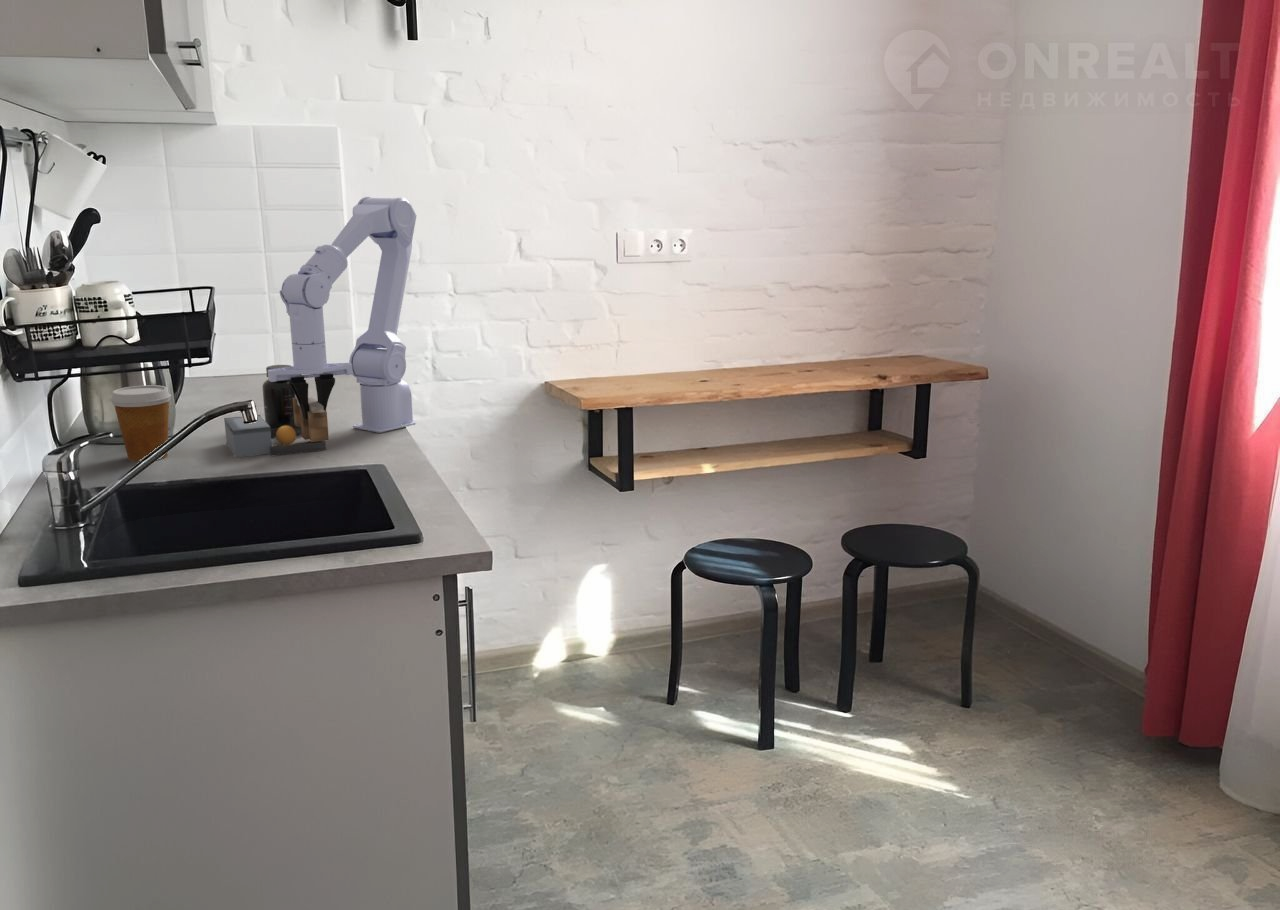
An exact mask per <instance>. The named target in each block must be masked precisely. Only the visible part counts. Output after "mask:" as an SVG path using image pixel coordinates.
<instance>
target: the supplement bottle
mask: <svg viewBox="0 0 1280 910" xmlns="http://www.w3.org/2000/svg"><path fill="white" fill-rule="evenodd" d="M291 366H292V365H290V364H274V365H268V366H267V367H265V369H266V378H268V370H270V369H278V368H285V367H291ZM261 390H262V399H263V401H262V402H263V411H264V413H263V414H264V420H265V422H266V423H267V424H268V425H269V426H270V429H275V428H280V427H282V426H290V427H295V426H296V425H295V423H294V410H293V398H295V393H294V391H293V390H292V388H291V386H290V385H289V383H288V380H279V381H276V382H271V381H269V380H268V379H267V380H265V381H264V382H263V383H262V389H261Z"/></svg>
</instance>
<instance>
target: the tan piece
mask: <svg viewBox="0 0 1280 910" xmlns="http://www.w3.org/2000/svg"><path fill="white" fill-rule="evenodd" d="M308 404H309V411H308V419H305V418H303V414H302V410H301V407H300V404H299V402H298V399H297V397H296V395H295V398H293V410H294V423H295V425H296V427H297V426H301V434H302V435H301V438H303V440H304V441H309V442H316V441H326V442H327V441H329V440H330V438H329V425H328V424H329V423H328V411H327V410H326V411H325V410H324V406H322V405H321V404H320V403H319V402H318V400H317V399H315V398H314V397H313V396H312V395H311V394H309V393H308Z"/></svg>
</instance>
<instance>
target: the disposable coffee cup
mask: <svg viewBox="0 0 1280 910" xmlns="http://www.w3.org/2000/svg"><path fill="white" fill-rule="evenodd" d="M111 396H112V397H110V402H111V403H112V405H113V406H114V408H115V409H114V410H115V413H116V417H117V421H118V425H119V430H120V433H121V435H122V440H123V444H124V447H125V451H126V455H127V460H129V461H131V462H135V463H136V462H137V461H139V460H140V459H142V458H143V457H144V456H146V455H148V454H149V453H150V452H152V451H153V450H154V449H155V448H157V447H158V446H160V445H161V444H163V443H164V442H165V441H166V440H168V441H169V413H170V412H169V411H170V410H169V408H170V405H169V404H170V400H171V397H172V394H171V393H170V392H169V388H168V387H167V386H164V385H156V384H155V385H151V384H150V385H149V384H148V385H144V384H143V385H132V386H126V387H121V388H118V389H115V390H112V395H111ZM168 456H169V454H168V453H166V454H165V455H164V456H163V457H162V458H161V459H160V460H162V459H166V458H168Z"/></svg>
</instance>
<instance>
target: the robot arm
mask: <svg viewBox="0 0 1280 910" xmlns="http://www.w3.org/2000/svg"><path fill="white" fill-rule="evenodd" d="M416 221H417V214H416V212H415V210H414V208H413V205H412V204H411V202H410V201H409V200H408V199H407V198H405V197H402V196H400V197H369V196H365V197H362V198H361V199H359V201H358V202H357V204H356V205H354V206H353V208H352V216H351V217H350V218H349V220H348V222H347V223H346V224H345V225H344V227H343V229H341V231H340V232H339V234H338V235H337V236H336V238H335V239H334V241H333V242H332V244H323V245H320V246H317V247H316V248H315V249H314V253H313V255H312V256H311V257H310V258H309V259H308V260H307V261H306V263H305V264H303V265H302V266H301V267H300V268H299V269H300V270H299V271H298V272H297V273H292V274H289V275H288V276H287V277H286V278H285V279H284V280H283V282H282V284H281V290H279V295H280V296H279V297H280V299H281V301H282V302H283V303H284V304H285V308H286V314H287V315H288V316H289V323H290V324H289V326H290V327H289V328H290V337H291V338H290V339H291V349H292V364H293V366H292V365H290V366H291V367H285V368H278V369H270V370H268V377H267V380H269V381H271V382H276V381H279V380H288V383H289V385H290V386H291V388H292V390H293V391H294V393H295V395H296V397H297V399H298V402H299V404H300V407H301V410H302V414H303V418H305V419H308V411H309V404H308V394H309V383H308V382H307V380H306V379H311V378H313V379H314V383H315V389H316V396H317V401H318V402H319V403H320V404H321V405H322V406H324V410H325V411H327V406H328V403H329V399H330V395H331V393H332V390H333V389H334V386H335V385H336V378H335V377H334V376H342V375H345V376H351V375H352V376H354V378H356V383H359V391H360V392H359V393H360V407H361V408H360V409H361V423H356V424H352V428H354V429H357V430H358V429H359V430H363V431H368V432H373V433H377V434H378V433H379V434H380V433H385V432H389V431H394V430H398V429H402V428H407V427H410V426H415V425H416V424H417V423H416V421H414V419H413V417H414V416H413V397H412V391H411V388H410V386H409V384H408V382H406V381H405V380H403V377H404V375H405V373H406V368H407V361H406V350H407V346H406V345H405V344H404V342H402V340H401V339H400V338H399V337H398V336H397V334H398V329H399V324H400V323H399V322H400V317H401V312H402V308H403V307H402V305H403V300H404V294H405V289H406V284H407V278H408V272H409V267H410V260H411V256H412V248H413V238H414V232H415V226H416ZM368 237H369V238H370V239H371V240H372V241H373V242H374V244H376V245H378V247H379V248H380V250H381V255H380V256H381V257H380V260H379V266H378V272H377V278H376V284H375V289H374V294H373V301H372V306H371V310H370V311H371V312H370V317H369V321H368V322H369V323H368V328H367V330H366V331H365V332H364V333H363V334H360V336H359V337H358V338H357V339H356V340H355V346H354V348H353V350H352V352H351V354H350V356H349V361H348V362H337V363H334V362H333V363H327V350H326V348H327V347H326V335H325V332H326V331H325V320H324V319H325V318H324V308H323V307H324V306H325V304H327V303H328V301H329V299H330V294H331V293H330V292H331V289H332V288H333V284H334V283H335V282H336V281H337V280H338V279H339V277H341V276H342V274H343V273H344V272H345V270H346V269H347V267H348V259H347V258H348V257H349V256H350V255H351V254H352V253H353V252H354V251H355V250H356V249H357V248H359V246H360V245H361V244H362V243H363V242H364V241H366V240H367V239H368ZM401 424H402V425H403V427H402V425H401Z"/></svg>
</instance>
